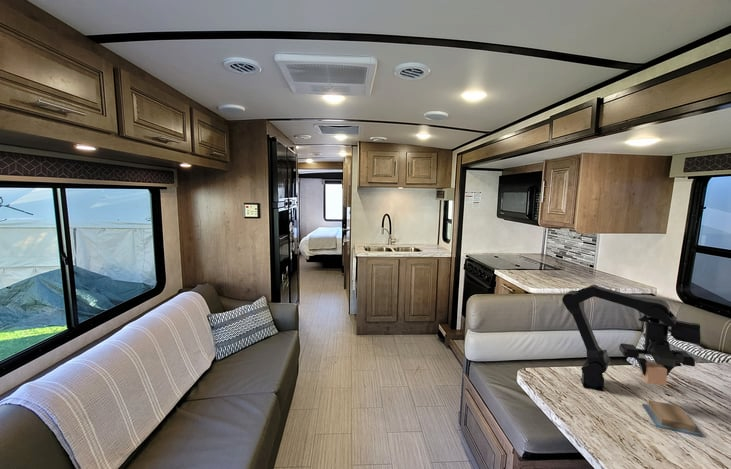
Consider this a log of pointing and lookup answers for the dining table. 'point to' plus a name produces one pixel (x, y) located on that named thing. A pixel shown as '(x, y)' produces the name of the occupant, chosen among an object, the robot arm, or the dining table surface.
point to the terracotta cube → (655, 373)
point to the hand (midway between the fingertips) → (653, 376)
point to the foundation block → (670, 418)
